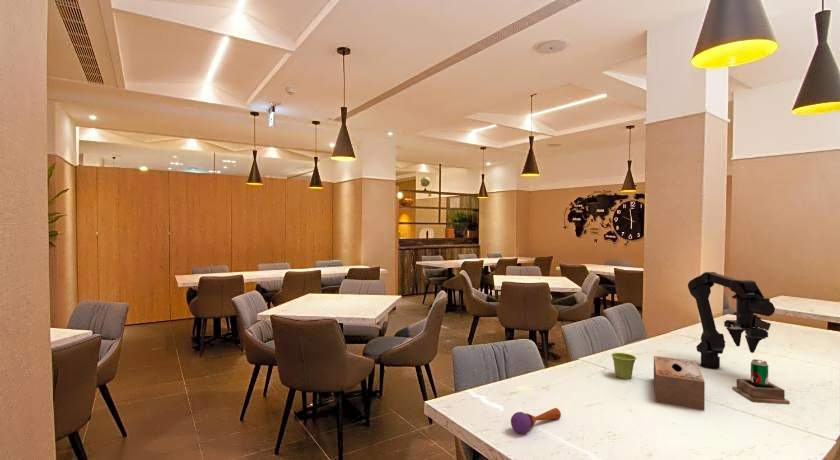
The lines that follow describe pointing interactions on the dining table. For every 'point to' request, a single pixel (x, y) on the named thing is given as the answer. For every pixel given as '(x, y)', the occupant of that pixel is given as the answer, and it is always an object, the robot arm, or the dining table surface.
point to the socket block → (760, 392)
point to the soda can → (759, 373)
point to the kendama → (531, 419)
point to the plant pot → (623, 364)
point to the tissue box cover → (678, 383)
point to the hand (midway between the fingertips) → (744, 349)
